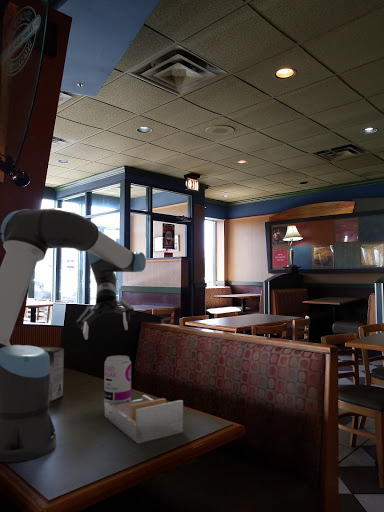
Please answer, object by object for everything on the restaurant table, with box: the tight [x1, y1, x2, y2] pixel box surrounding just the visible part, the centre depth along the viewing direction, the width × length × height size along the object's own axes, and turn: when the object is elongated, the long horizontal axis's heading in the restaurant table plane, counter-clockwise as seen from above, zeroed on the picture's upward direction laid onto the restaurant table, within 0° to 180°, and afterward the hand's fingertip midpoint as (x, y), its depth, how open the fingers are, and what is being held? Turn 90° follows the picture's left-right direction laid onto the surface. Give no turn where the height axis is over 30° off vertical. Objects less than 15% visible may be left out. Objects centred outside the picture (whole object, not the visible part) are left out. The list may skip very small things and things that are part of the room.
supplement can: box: [103, 354, 132, 407], centre depth 124 cm, size 8×8×15 cm
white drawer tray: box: [104, 394, 184, 444], centre depth 110 cm, size 22×13×8 cm, turn 33°
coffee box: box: [38, 345, 65, 402], centre depth 133 cm, size 9×6×16 cm
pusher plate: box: [130, 397, 167, 422], centre depth 106 cm, size 1×10×6 cm, turn 123°
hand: (105, 331), depth 133 cm, fingers open, 13 cm apart
